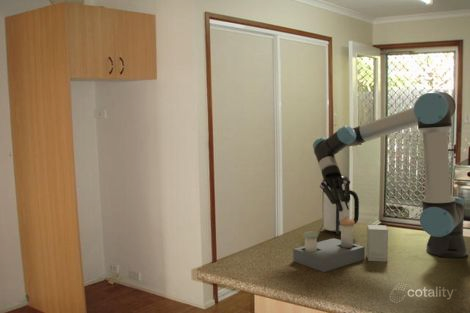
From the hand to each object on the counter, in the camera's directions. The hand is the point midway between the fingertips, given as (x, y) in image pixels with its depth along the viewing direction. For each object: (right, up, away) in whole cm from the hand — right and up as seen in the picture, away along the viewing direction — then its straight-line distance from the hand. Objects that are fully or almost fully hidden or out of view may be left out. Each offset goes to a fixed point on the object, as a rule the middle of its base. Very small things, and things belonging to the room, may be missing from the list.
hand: (346, 217), depth 186 cm
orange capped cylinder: (0, -11, +1) cm, 11 cm away
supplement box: (+12, -16, +1) cm, 20 cm away
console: (-7, -17, 0) cm, 18 cm away
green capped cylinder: (-14, -16, -2) cm, 21 cm away
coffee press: (+6, -12, +41) cm, 43 cm away
